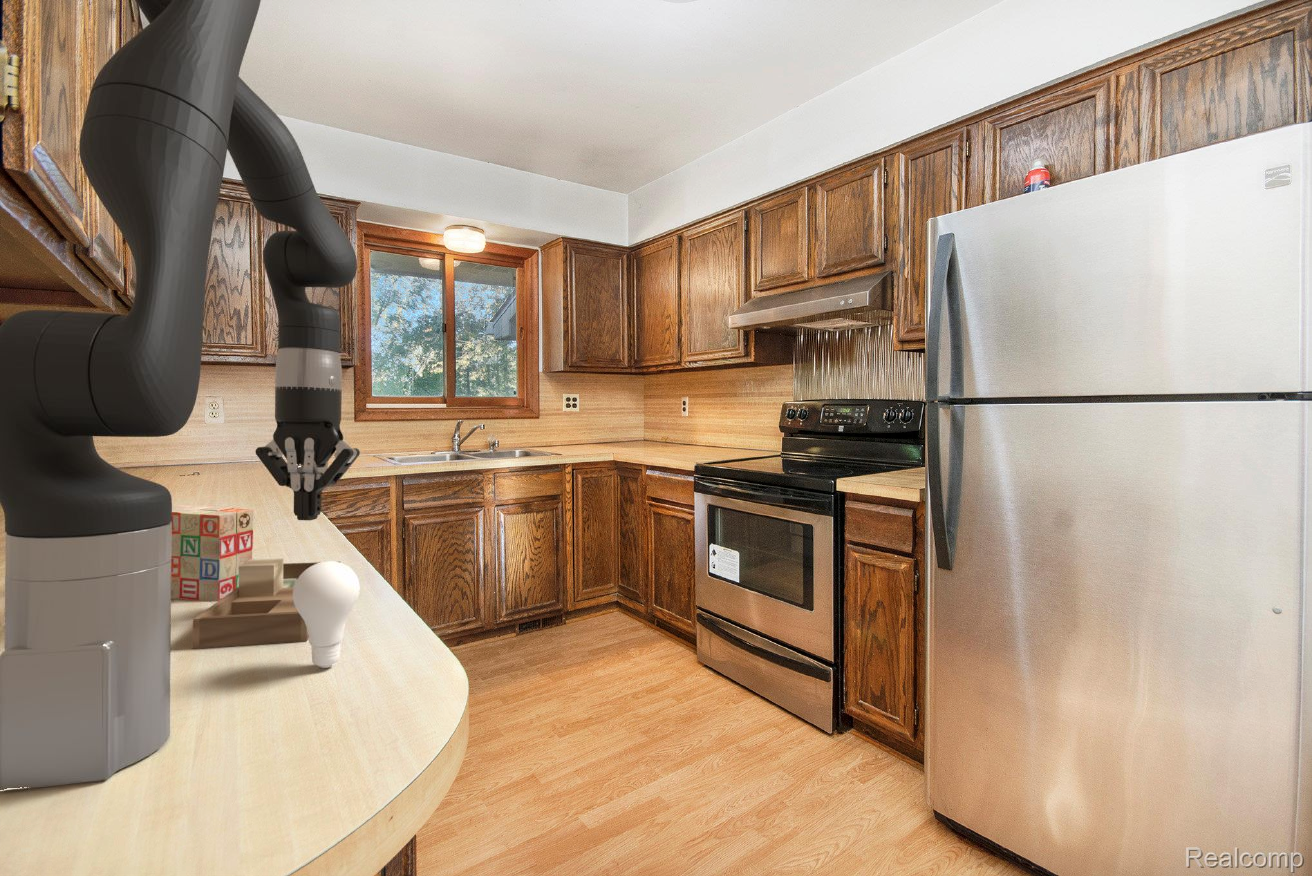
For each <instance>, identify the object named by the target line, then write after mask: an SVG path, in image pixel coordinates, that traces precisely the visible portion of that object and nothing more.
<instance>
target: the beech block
mask: <svg viewBox="0 0 1312 876" xmlns="http://www.w3.org/2000/svg"><path fill="white" fill-rule="evenodd" d="M283 564H284V558H259V559H256V558H255V559H253V558H252V559H251V560H248V561H247V562H245V563H243V564H242V565H240V566H239V590H238V597H256V596H274V595H275V594H276V593H277V592H279V591H280V590H281V589H282V588H283Z"/></svg>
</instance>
